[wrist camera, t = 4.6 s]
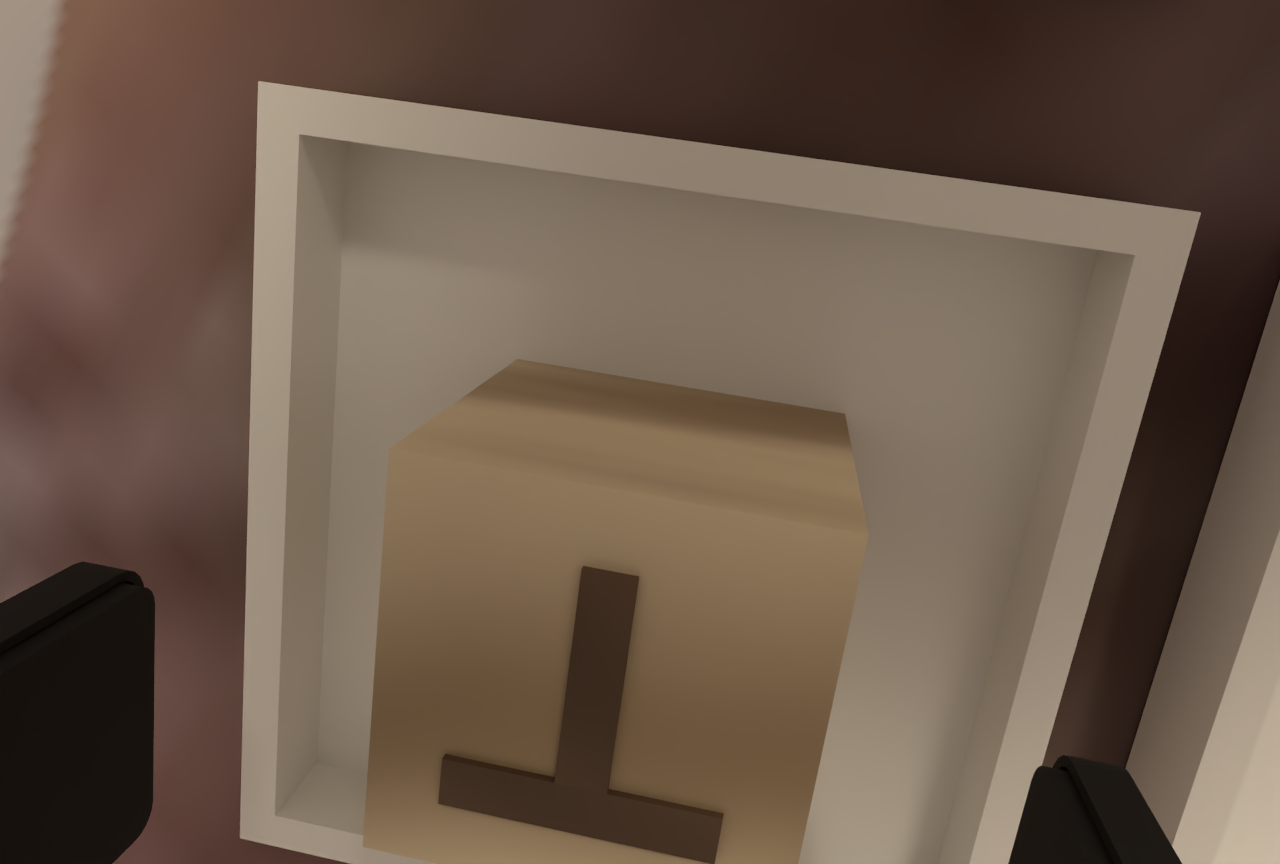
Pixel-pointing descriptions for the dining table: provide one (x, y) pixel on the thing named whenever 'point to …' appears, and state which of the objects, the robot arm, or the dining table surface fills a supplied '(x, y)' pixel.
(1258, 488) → the tray
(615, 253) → the tray
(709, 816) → the letter cube
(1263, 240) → the dining table surface
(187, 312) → the dining table surface
